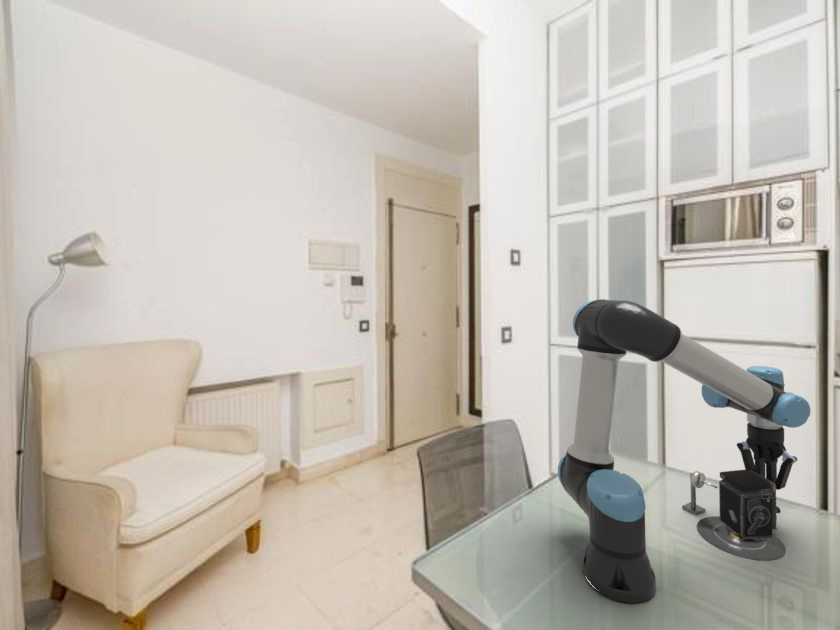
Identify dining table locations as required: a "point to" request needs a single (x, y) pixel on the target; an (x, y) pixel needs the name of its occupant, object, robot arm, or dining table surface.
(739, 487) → the camera
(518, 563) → the dining table surface
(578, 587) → the dining table surface
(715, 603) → the dining table surface
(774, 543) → the disc
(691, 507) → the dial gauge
